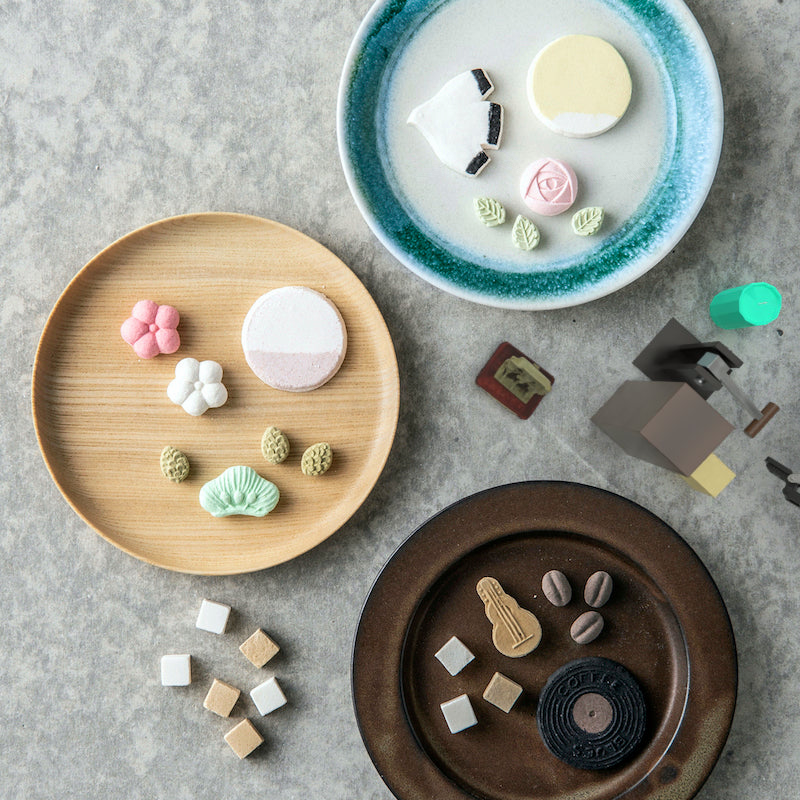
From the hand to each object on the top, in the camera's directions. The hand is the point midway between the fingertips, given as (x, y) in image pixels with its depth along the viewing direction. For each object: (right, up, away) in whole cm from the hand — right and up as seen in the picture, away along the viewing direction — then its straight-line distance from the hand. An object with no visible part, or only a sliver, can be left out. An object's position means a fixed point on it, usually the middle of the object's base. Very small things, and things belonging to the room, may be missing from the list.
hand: (788, 437), depth 97 cm
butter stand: (-19, +2, +11) cm, 22 cm away
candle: (-4, +18, +10) cm, 21 cm away
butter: (-9, -5, +11) cm, 15 cm away
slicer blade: (-7, +6, +2) cm, 10 cm away
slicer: (-11, +10, +10) cm, 18 cm away
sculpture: (-36, +8, +11) cm, 38 cm away
